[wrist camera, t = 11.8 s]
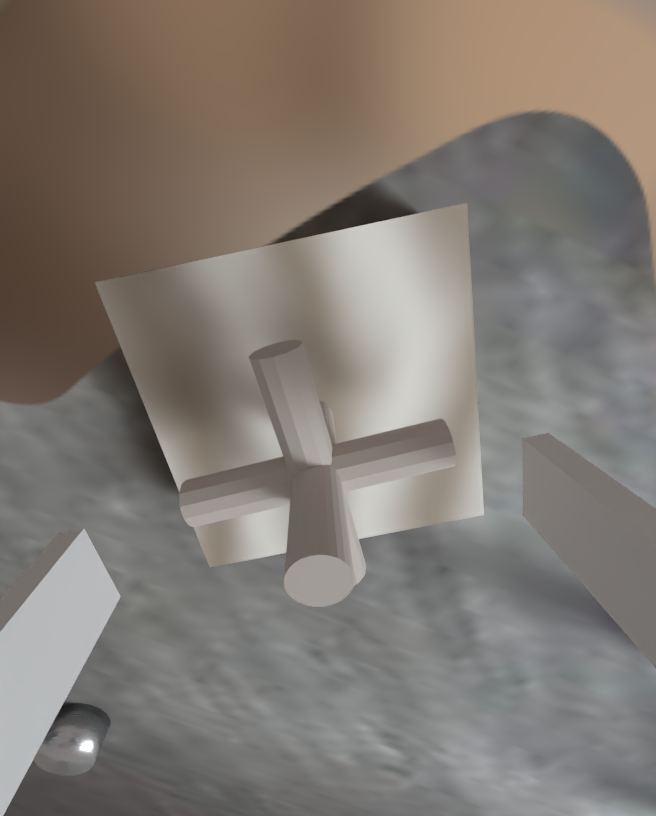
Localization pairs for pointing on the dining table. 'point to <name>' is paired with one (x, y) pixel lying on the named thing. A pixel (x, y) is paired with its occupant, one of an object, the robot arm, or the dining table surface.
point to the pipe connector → (313, 477)
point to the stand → (312, 362)
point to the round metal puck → (73, 740)
